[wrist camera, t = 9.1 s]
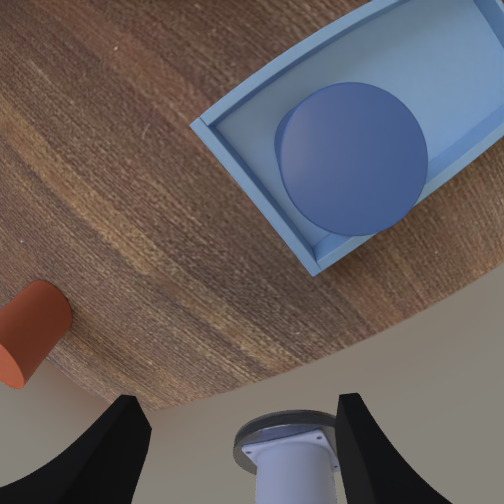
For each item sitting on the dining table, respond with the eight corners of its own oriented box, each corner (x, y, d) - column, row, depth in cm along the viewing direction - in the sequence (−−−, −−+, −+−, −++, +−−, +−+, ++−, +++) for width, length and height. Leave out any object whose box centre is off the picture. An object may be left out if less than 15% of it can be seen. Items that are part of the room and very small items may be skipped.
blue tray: (307, 257, 18) (312, 277, 15) (200, 125, 15) (188, 125, 13) (526, 93, 12) (550, 94, 10) (452, -27, 10) (471, -40, 8)
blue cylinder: (376, 172, 15) (443, 207, 9) (295, 203, 16) (312, 259, 10) (345, 88, 14) (399, 65, 7) (259, 119, 14) (252, 114, 8)
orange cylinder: (82, 324, 21) (35, 387, 14) (49, 336, 21) (5, 391, 15) (49, 271, 19) (-11, 325, 13) (19, 290, 20) (-34, 338, 13)
